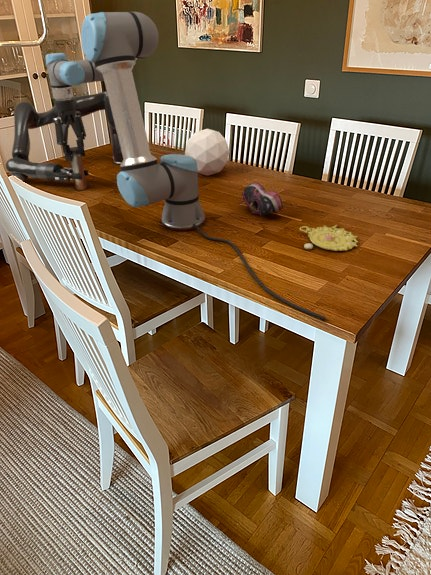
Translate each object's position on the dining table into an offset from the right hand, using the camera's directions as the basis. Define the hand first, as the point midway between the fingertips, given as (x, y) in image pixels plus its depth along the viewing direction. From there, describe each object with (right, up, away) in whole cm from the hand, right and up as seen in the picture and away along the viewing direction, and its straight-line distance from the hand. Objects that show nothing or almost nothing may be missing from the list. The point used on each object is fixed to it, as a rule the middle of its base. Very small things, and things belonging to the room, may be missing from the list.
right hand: (75, 158), depth 182 cm
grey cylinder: (0, -11, +7) cm, 13 cm away
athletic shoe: (+73, -25, -19) cm, 79 cm away
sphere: (+54, -1, +19) cm, 57 cm away
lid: (0, +3, -2) cm, 4 cm away
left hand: (+3, -6, +3) cm, 7 cm away
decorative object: (+94, -38, -40) cm, 109 cm away
